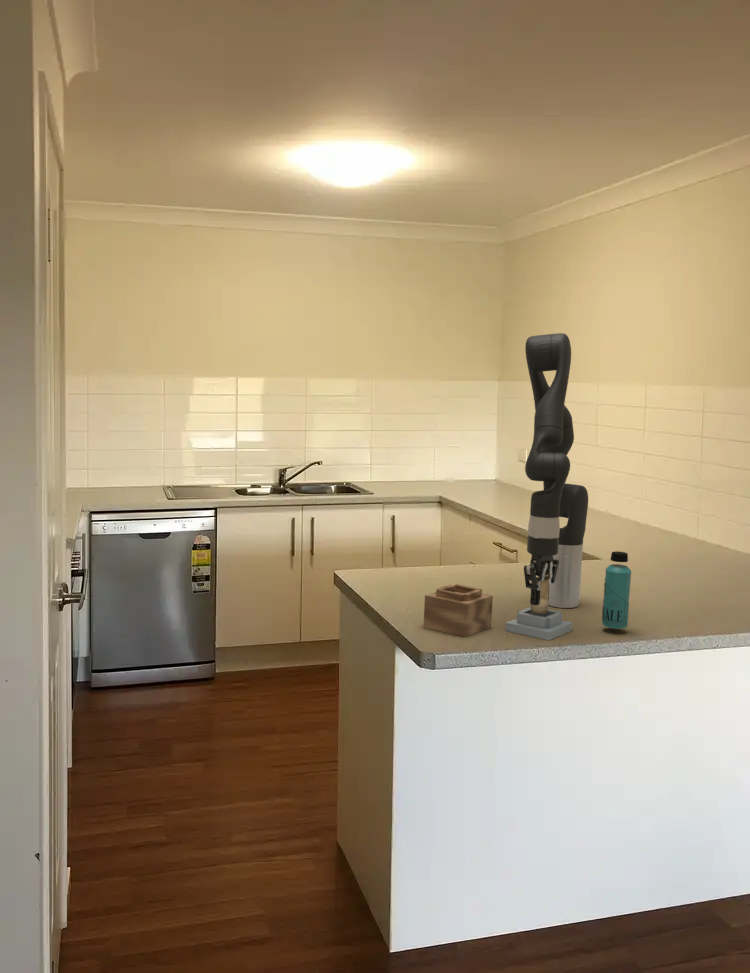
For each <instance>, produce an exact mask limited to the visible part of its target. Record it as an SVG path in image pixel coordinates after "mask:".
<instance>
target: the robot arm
mask: <svg viewBox="0 0 750 973" xmlns="http://www.w3.org/2000/svg"><path fill="white" fill-rule="evenodd" d="M524 348H525V360H526V364H527V368H528V369H527V370H528V374H529V378H530V380H529V381H530V384H531V388H532V389H531V390H532V395H533V400H534V410H535V411H534V418H533V419H534V424H533V438H532V439H533V440H532V444H531V448H530V451H529V454H528V456H527V459H526V462H525V466H524V467H525V468H524V471H525V475H526V477H527V478H528V479H529V480H530V481H534V482H535V481H536V482H542V483H543V490H542V489H541V490H537V491H534V492H532V493H531V497H530V507H529V509H530V510H529V511H530V512H529V521H528V527H527V528H528V529H527V543H526V545H527V546H526V552H527V553H529V555H531V559H530V562H529V564H528V565H526V564H525V565H524V566H523V576H524V583H525V588H526V589H530V601H529V603H530V605H531V604H532V605H536V606H537V605H539V604H540V588H541V583H542V581H544V579H548V580H549V591H548V606H550V607H555V608H560V609H561V608H562V609H563V608H564V609H571V608H577V607H579V606H580V602H581V601H580V599H581V598H580V597H581V586H582V585H581V583H582V563H583V550H584V549H583V548H584V537H585V533H586V525H587V516H588V510H589V509H588V508H589V491H588V490H587V488H586V487H585V486H584V485H580V484H572V483H566V481H567V479H568V476H569V474H570V473H569V472H570V469H571V461H570V458H569V456H567V455H568V454H569V452H570V450H571V449H572V446H573V444H574V440H575V432H574V425H573V416H572V414H571V412H570V410H569V409H568V407H567V406H566V405H565V404H566V403H565V402H566V396H567V391H568V384H569V376H570V370H571V363H572V346H571V341H570V338H569V336H568V335H567V334H566V333H561V332H560V333H548V334H538V335H533V336H532V335H531V336H529V337H528V338H527V339H526V341H525V347H524ZM551 371H552V372H553V371H555V375H554V378H553V380H552V383H551V384H550V385H549V384H548V382H547V379H546V377H545V374H544V372H551ZM560 518H566V519H567V522H566V525H565V526H563V527H561V525H560ZM560 527H561V528H560ZM536 580H537V581H538V582H537V581H536Z"/></svg>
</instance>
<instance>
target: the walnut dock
mask: <svg viewBox="0 0 750 973" xmlns="http://www.w3.org/2000/svg"><path fill="white" fill-rule="evenodd" d="M493 598H494V596H493V595H490V594H487V593H483V589H482V588H478V587H472V586H467V585H463V584H457V583H456V584H448V585H444V586H441V587H438V588H436V591H435V592H433V593H429V594H425V595H424V609H423V628H424V629H429V630H434V631H437V632H441V633H446V634H449V635H450V634H451V635H454V636H458V637H462V638H466V637H467V638H468V637H469V636H471V635H474V634H477V633H480V632H483V631H486V630H488V629H491V628H492V617H493V616H492V615H493Z"/></svg>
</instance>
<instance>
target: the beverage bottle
mask: <svg viewBox="0 0 750 973" xmlns="http://www.w3.org/2000/svg"><path fill="white" fill-rule="evenodd" d="M628 555H629V554H628V552H624V551H617V550H616V551H612V552H611V555H610V561H611V562H615V563H613V564H609V565H608V566H607V567H606V568H605V577H604V584H603V588H604V589H603V600H602V602H603V603H602V616H601V623H602V625H603V626H604V627H606V628H609V629H617V630H618V629H619V630H620V629H621V630H622V629H626V628H627V627H628V623H629V613H630V612H629V610H630V595H631V594H630V592H631V579H632V570H631V569H630V568H629V566H627V565H624V564H619V563H628V561H629V559H628V558H629V556H628Z"/></svg>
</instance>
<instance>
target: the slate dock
mask: <svg viewBox="0 0 750 973" xmlns="http://www.w3.org/2000/svg"><path fill="white" fill-rule="evenodd" d="M562 617H563V611H558V610H554V609H549V608H547V613H546V614H536V613H532V612H531V606H529V607H526V608H523V609H521V610H517V614H516V618H514V619H511V620H509V621H506V622H505V628H504V629H505V630H504V631H506V632H511V633H515V634H519V635H523V636H528V637H533V638H538V639H541V640H545V641H551V640H553V639H556V638H558V637H560V636H562V635H566V634H567V633H569V632H572V631H573V622H571V621H566V620H563V618H562Z"/></svg>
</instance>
